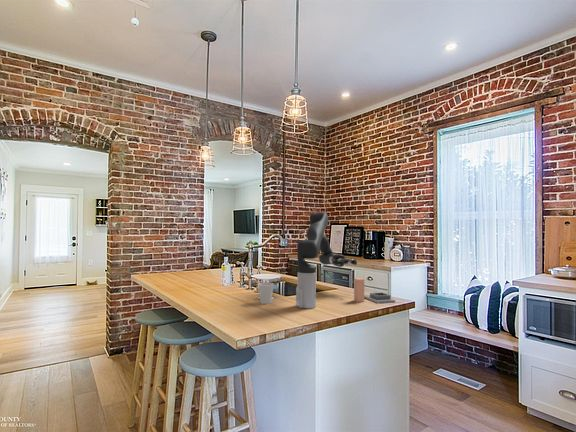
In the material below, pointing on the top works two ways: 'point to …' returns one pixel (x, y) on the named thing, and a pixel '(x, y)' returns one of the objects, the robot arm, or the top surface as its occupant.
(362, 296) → the terracotta peg
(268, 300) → the dixie cup
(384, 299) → the socket board
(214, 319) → the top surface
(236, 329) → the top surface
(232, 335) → the top surface
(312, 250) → the robot arm
